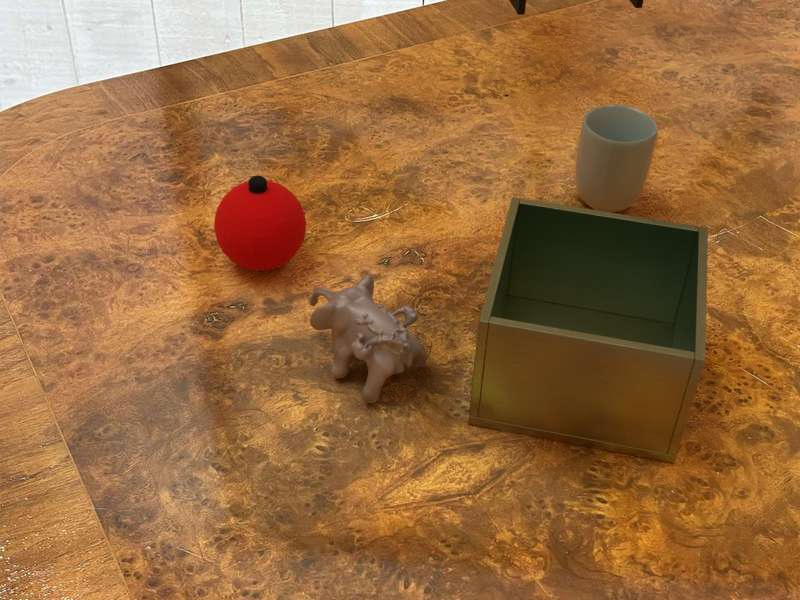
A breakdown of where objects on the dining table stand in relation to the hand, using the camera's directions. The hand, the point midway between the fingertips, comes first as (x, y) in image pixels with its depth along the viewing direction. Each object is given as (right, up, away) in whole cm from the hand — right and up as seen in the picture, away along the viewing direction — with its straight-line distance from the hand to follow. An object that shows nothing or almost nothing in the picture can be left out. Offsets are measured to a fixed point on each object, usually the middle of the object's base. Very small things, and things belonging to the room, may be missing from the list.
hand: (582, 0), depth 117 cm
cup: (+3, -22, +1) cm, 22 cm away
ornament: (-34, -29, -9) cm, 45 cm away
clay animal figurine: (-24, -39, -19) cm, 50 cm away
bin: (-4, -40, -20) cm, 44 cm away
